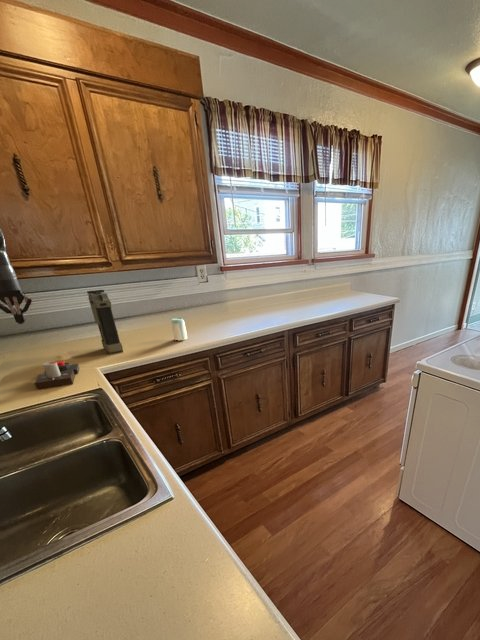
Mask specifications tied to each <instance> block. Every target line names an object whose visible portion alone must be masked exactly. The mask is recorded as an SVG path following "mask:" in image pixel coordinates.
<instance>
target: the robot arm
mask: <svg viewBox="0 0 480 640" xmlns="http://www.w3.org/2000/svg"><path fill="white" fill-rule="evenodd" d="M23 301H24V302H25V303H24V304H25V305H24V306H23V308H22V303H23ZM33 301H34V299H33V298H32V297H28V296H27V295H26V294H25V293H24V292H23V291H22V288H21V285H20V282H19V280H18V277H17V274H16V271H15V268H14V267H13V265H12V263H11V260H10V257H9V255H8V252H7V247H6V241H5V236H4V232H3V231H2V229H1V227H0V310H1V311H3V312H4V313H6V314H10V315H12V316H13V319H14V320H15V323H17V324H18V325H23V324H25V322H26V318H25V315H24V313H26V312H28V310H29V309H30V307H31V305H32V303H33ZM5 305H6V306H5Z"/></svg>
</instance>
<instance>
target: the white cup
mask: <svg viewBox="0 0 480 640" xmlns="http://www.w3.org/2000/svg"><path fill="white" fill-rule="evenodd" d="M42 366H43V368H44V372H45V371H46V373H47V376H48V378H55V377H59V376H60V375H61V373H60V371H59V368H58V365H57V362H56V361H52V360H51V361H47V362H44V363H42Z"/></svg>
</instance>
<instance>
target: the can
mask: <svg viewBox="0 0 480 640" xmlns="http://www.w3.org/2000/svg"><path fill="white" fill-rule="evenodd" d="M171 329H172V334H173V339H174V340H175V341H176V340H178V341H177V342H181V341H180V340H184V341H186V340H188V334H187V329H186V323H185V320H184V319H183V318H182V317H174V318H172V319H171ZM185 339H186V340H185Z"/></svg>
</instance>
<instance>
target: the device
mask: <svg viewBox="0 0 480 640" xmlns="http://www.w3.org/2000/svg"><path fill="white" fill-rule="evenodd" d="M86 293H87V294H86V295H87V296H88V297H87V298H88V302H89V305H90V308H91V312H92V316H93V318H94V322H95V324H97V327H98V330H99V334H100V338H101V345H102V347H103V350H104V351H105V352H106V353H107V354H109V355H115V354H120V353H124V349H123V345H122V342H121V341H120V337H119V333H118V332H119V331H118V328H117V325H116V321H115V318H114V314H113V310H112V301H111V300H110V298H109V296H108V293H107V292H105V290H104V289H96V290H95V289H94V290H87V291H86Z"/></svg>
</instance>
